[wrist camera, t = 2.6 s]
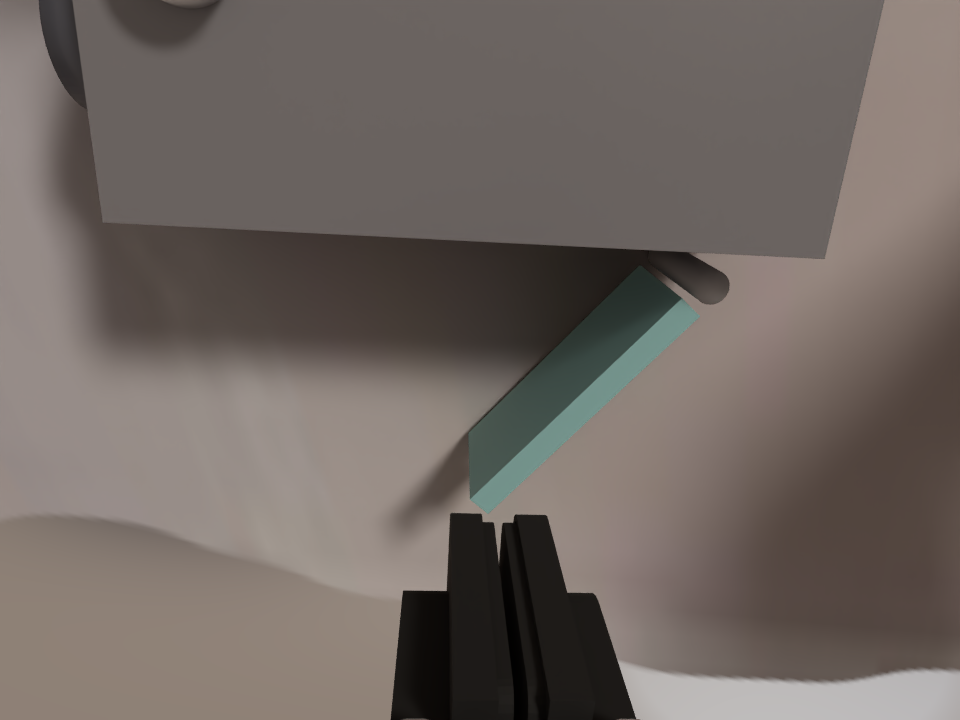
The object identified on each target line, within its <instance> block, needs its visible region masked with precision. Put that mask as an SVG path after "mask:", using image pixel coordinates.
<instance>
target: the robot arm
mask: <svg viewBox="0 0 960 720" xmlns="http://www.w3.org/2000/svg"><path fill="white" fill-rule="evenodd" d="M391 720H639V719H636V717H635V714H634V711H633V708H632V704H631V701H630V698H629V695H628V692H627V689H626V686H625V683H624V680H623V677H622V674H621V670H620V667H619V664H618V661H617V658H616V655H615V652H614V649H613V645H612V642H611V639H610V636H609V633H608V630H607V627H606V624H605V621H604V617H603V614H602V611H601V608H600V605H599V602H598V600H597V597H596V596H595V595H594V594H593V593H567V590H566V586H565V583H564V579H563V575H562V571H561V567H560V563H559V560H558V556H557V552H556V548H555V544H554V540H553V537H552V533H551V529H550V525H549V521H548V518H547V516H546V515H515V516H514V521H513V523H503V525H502V534H501V547H500V560H499V561H498V553H497V545H496V536H495V528H494V523H493V522H482V514H468V513H451V514H450V532H449V554H448V575H447V591H403V596H402V607H401V617H400V628H399V638H398V648H397V659H396V669H395V680H394V690H393V702H392V711H391Z"/></svg>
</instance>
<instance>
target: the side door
mask: <svg viewBox="0 0 960 720" xmlns="http://www.w3.org/2000/svg"><path fill="white" fill-rule="evenodd" d="M648 257H649V261H650V263H651V264H652V265H653V266H654V267H655V268H656V269H658V270H659V271H660V272H662V273H663V274H664V275H666V276H667V277H668V278H670V279H671V280H672V281H674V282H675V283H676V284H678V285H679V286H680V287H682V288H683V289H684V290H686V291H687V292H688V293H690V294H691V295H692V296H694V297H695V298H696V299H698V300H699V301H701V302H702V303H704V304H716V303H718V302H720V301H722V300H723V299H724V298H725V297H726V295H727V293H728V291H729V280H728V278H727V276H726V275H725V274H724V273H722V272H720V271H719V270H717V269H715V268H713V267H712V266H710V265H708V264H706V263H705V262H703V261H701V260H700V259H698V258H696V257H694V256H693V255H691V254H689V253H687V252H676V251H656V250H650V251H649V255H648ZM699 317H700V316H699V315H698V314H697V313H696V312H695V311H694V310H693V309H692V308H691V307H690V306H689V305H688V304H687V303H686V302H685V301H684V300H683V299H682V298H681V297H680V296H678V295H677V294H676V293H675V292H673V291H672V290H671V289H670V288H668V287H667V286H666V285H665V284H663V283H662V282H661V281H660V280H658V279H657V278H656V277H655V276H653V275H652V274H651V273H650V272H648V271H647V270H646V269H645V268H643V267H642V266H641V265H639V266H638V267H637V268H636V269H635V270H634V271H633V272H632V273H631V274H630V275H629V276H628V277H627V278H626V279H625V280H624V281H623V282H622V283H621V284H620V285H619V286H618V287H617V288H616V289H615V290H614V291H613V292H612V293H611V294H610V295H609V296H607V297H606V298H605V299H604V300H603V301H602V302H601V303H600V304H599V305H598V306H597V307H596V308H595V309H594V310H593V311H592V312H591V313H590V314H589V315H588V316H587V317H586V318H585V319H584V320H583V321H582V322H581V323H580V324H579V325H578V326H577V327H576V328H575V329H574V330H573V331H572V332H571V333H570V334H569V335H568V336H567V337H566V338H565V339H564V340H563V341H562V342H561V343H560V344H559V345H558V346H557V347H556V348H555V349H554V350H553V351H552V352H550V353H549V354H548V355H547V356H546V357H545V358H544V359H543V360H542V361H541V362H540V363H539V364H538V365H537V366H536V367H535V368H534V369H533V370H532V371H531V372H530V373H529V374H528V375H527V376H526V377H525V378H524V379H523V380H522V381H521V382H520V383H519V384H518V385H517V386H516V387H515V388H514V389H513V390H512V391H511V392H510V393H509V394H508V395H507V396H506V397H505V398H504V399H503V400H502V401H501V402H500V403H499V404H498V405H497V406H496V407H495V408H494V409H492V410H491V411H490V412H489V413H488V414H487V415H486V416H485V417H484V418H483V419H482V420H481V421H480V422H479V423H478V424H477V425H476V426H475V427H474V428H473V429H472V430H471V431H470V432H469V433H468V435H469V480H470V500H471V501H473V502H474V503H475V504H476V505H478V506H479V507H480V508H481V509H483V510H484V511H485V512H486V513H490V512H491V511H492V510H493V509H494V508H495V507H496V506H497V505H498V504H499V503H500V502H501V501H502V500H504V499H505V498H506V497H507V496H508V495H509V494H510V493H511V492H512V491H513V490H514V489H515V488H516V487H517V486H519V485H520V484H521V483H522V482H523V481H524V480H525V479H526V478H527V477H528V476H529V475H530V474H531V473H532V472H534V471H535V470H536V469H537V468H538V467H539V466H540V465H541V464H542V463H543V462H544V461H545V460H546V459H547V458H549V457H550V456H551V455H552V454H553V453H554V452H555V451H556V450H557V449H558V448H559V447H560V446H561V445H563V444H564V443H565V442H566V441H567V440H568V439H569V438H570V437H571V436H572V435H573V434H574V433H575V432H576V431H578V430H579V429H580V428H581V427H582V426H583V425H584V424H585V423H586V422H587V421H588V420H589V419H590V418H591V417H593V416H594V415H595V414H596V413H597V412H598V411H599V410H600V409H601V408H602V407H603V406H604V405H605V404H607V403H608V402H609V401H610V400H611V399H612V398H613V397H614V396H615V395H616V394H617V393H618V392H619V391H620V390H622V389H623V388H624V387H625V386H626V385H627V384H628V383H629V382H630V381H631V380H632V379H633V378H634V377H635V376H637V375H638V374H639V373H640V372H641V371H642V370H643V369H644V368H645V367H646V366H647V365H648V364H649V363H651V362H652V361H653V360H654V359H655V358H656V357H657V356H658V355H659V354H660V353H661V352H662V351H663V350H664V349H666V348H667V347H668V346H669V345H670V344H671V343H672V342H673V341H674V340H675V339H676V338H677V337H678V336H679V335H681V334H682V333H683V332H684V331H685V330H686V329H687V328H688V327H689V326H690V325H691V324H692V323H693V322H694V321H696V320H697V319H698V318H699Z"/></svg>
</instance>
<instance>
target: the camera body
mask: <svg viewBox="0 0 960 720" xmlns="http://www.w3.org/2000/svg"><path fill="white" fill-rule="evenodd" d="M883 4H884V0H39V10H40V19H41V25H42V31H43V35H44V39H45V43H46V47H47V50H48V53H49V56H50V59H51V61H52V64H53V66H54V69H55V71H56V73H57V75H58V77H59V79H60V80H61V82H62V84H63V86H64V87H65V89H66V90H67V91H68V93H69V94H70V95H71V96H72V98H73V99H74V100H75V101H76V102H77V103H78V104H80V105H81V106H82V107H84V108H86V109H87V111H88V119H89V126H90V133H91V141H92V148H93V156H94V163H95V170H96V178H97V185H98V193H99V200H100V207H101V215H102V222H103V223H121V224H141V225H160V226H180V227H200V228H220V229H240V230H259V231H279V232H299V233H319V234H339V235H359V236H378V237H398V238H418V239H438V240H458V241H478V242H497V243H517V244H537V245H557V246H577V247H596V248H616V249H636V250H656V251H676V252H696V253H715V254H735V255H755V256H775V257H795V258H814V259H825V255H826V250H827V246H828V242H829V237H830V233H831V229H832V224H833V220H834V216H835V212H836V207H837V203H838V199H839V194H840V190H841V186H842V181H843V177H844V173H845V168H846V164H847V160H848V155H849V151H850V147H851V142H852V138H853V134H854V129H855V125H856V121H857V116H858V112H859V108H860V103H861V99H862V95H863V91H864V86H865V82H866V78H867V73H868V69H869V65H870V60H871V56H872V52H873V47H874V43H875V39H876V34H877V30H878V26H879V21H880V17H881V13H882V8H883Z"/></svg>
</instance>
